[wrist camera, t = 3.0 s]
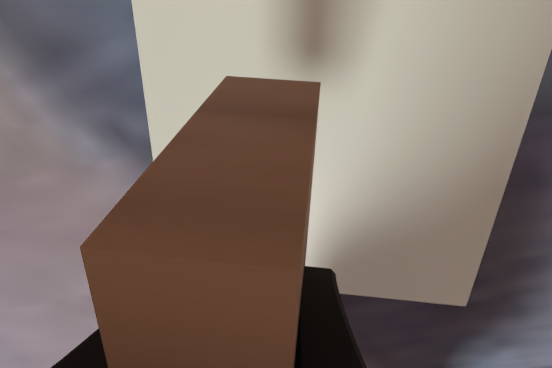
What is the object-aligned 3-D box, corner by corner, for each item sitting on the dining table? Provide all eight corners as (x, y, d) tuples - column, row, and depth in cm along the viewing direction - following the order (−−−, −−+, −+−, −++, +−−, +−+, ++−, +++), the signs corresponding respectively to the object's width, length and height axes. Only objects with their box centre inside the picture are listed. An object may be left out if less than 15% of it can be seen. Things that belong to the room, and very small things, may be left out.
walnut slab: (298, 347, 13) (272, 621, 8) (230, 338, 13) (160, 600, 8) (320, 82, 9) (300, 270, 4) (223, 75, 9) (73, 245, 4)
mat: (462, 297, 20) (466, 306, 20) (172, 267, 21) (168, 275, 21) (596, -120, 12) (608, -122, 12) (122, -125, 13) (114, -128, 13)
